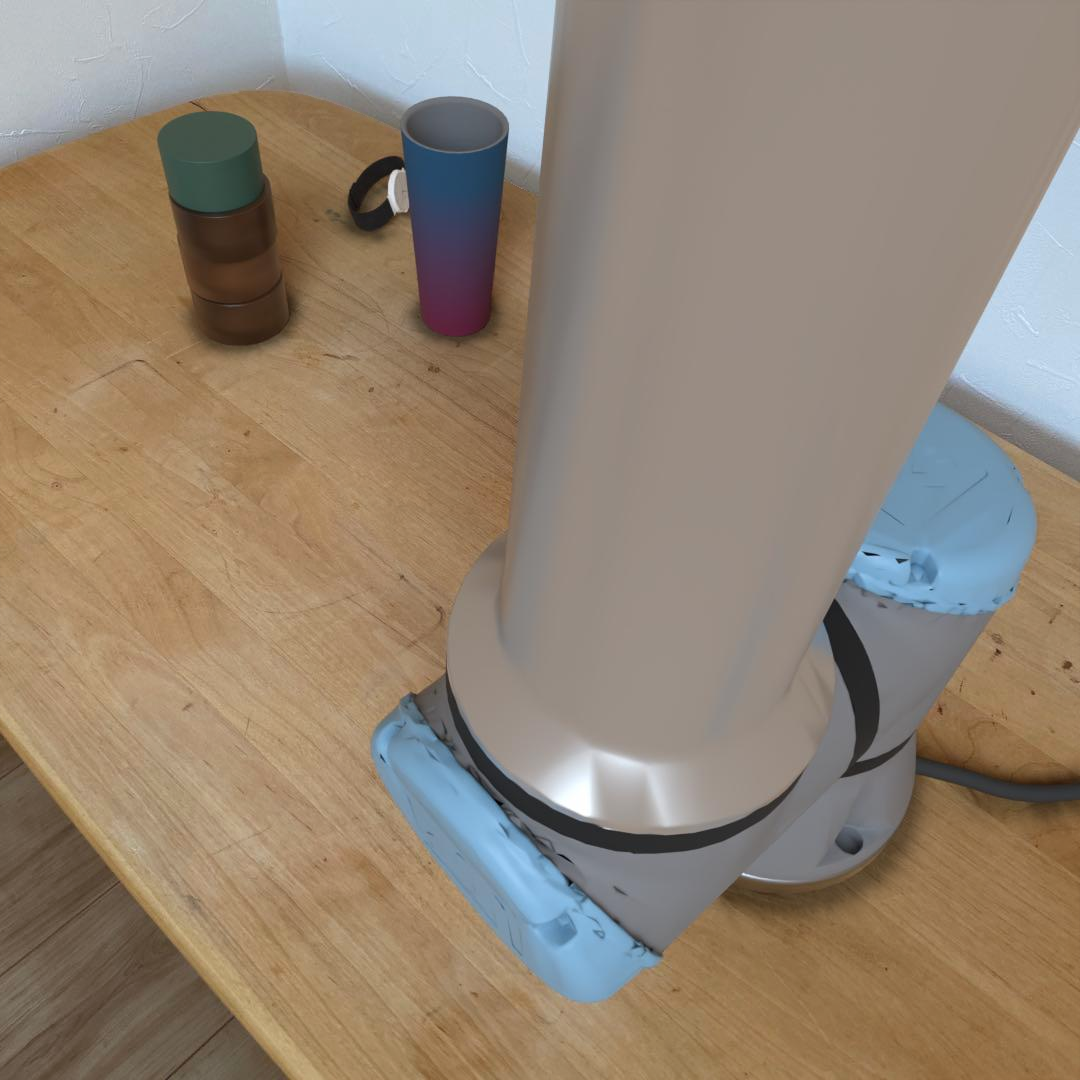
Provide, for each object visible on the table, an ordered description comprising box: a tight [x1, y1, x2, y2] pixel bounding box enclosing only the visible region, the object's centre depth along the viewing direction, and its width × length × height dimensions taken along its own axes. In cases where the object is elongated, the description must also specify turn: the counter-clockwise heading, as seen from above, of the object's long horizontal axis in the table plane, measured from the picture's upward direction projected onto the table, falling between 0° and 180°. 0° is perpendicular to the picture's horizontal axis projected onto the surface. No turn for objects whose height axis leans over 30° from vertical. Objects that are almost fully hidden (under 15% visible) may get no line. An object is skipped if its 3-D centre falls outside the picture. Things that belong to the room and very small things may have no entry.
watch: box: [347, 155, 410, 232], centre depth 85 cm, size 8×5×4 cm, turn 166°
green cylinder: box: [156, 110, 264, 212], centre depth 67 cm, size 6×6×4 cm
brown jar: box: [167, 172, 290, 346], centre depth 73 cm, size 7×7×10 cm
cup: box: [399, 95, 510, 337], centre depth 72 cm, size 7×7×15 cm
